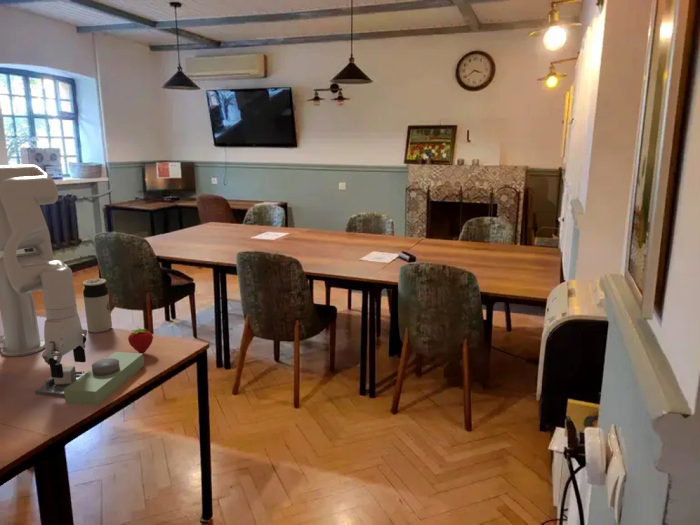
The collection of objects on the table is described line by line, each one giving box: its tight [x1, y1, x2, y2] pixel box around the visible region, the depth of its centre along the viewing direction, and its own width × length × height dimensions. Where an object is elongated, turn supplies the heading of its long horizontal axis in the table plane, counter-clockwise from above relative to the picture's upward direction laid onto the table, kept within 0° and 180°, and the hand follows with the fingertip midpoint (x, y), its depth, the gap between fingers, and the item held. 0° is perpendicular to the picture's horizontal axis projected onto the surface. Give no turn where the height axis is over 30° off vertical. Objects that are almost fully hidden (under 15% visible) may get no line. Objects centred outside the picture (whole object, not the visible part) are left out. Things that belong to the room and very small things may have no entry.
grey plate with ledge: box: [34, 372, 86, 398], centre depth 146 cm, size 10×12×2 cm
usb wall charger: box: [54, 365, 85, 385], centre depth 146 cm, size 4×7×4 cm, turn 100°
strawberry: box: [127, 327, 154, 355], centre depth 166 cm, size 6×8×10 cm
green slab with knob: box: [64, 351, 145, 406], centre depth 147 cm, size 9×24×6 cm, turn 173°
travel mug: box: [82, 278, 113, 334], centre depth 185 cm, size 8×8×18 cm
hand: (69, 369), depth 145 cm, fingers open, 9 cm apart
